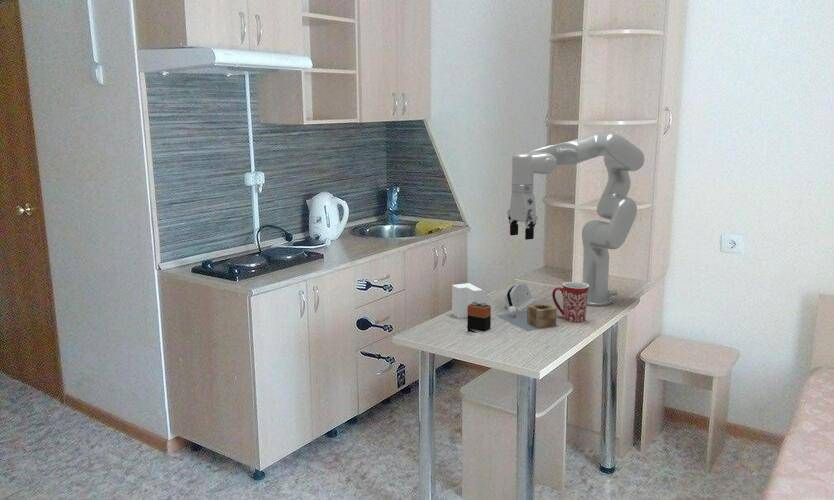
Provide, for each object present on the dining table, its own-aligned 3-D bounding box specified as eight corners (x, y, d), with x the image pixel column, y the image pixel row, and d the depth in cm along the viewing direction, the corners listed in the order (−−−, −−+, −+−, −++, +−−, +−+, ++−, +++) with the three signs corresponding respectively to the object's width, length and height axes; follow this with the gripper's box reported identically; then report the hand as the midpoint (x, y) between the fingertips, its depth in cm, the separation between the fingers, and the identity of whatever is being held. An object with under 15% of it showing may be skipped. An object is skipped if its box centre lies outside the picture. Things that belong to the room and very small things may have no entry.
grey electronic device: (521, 315, 244) (512, 288, 244) (509, 317, 247) (501, 291, 247) (537, 304, 259) (529, 279, 258) (525, 306, 261) (518, 282, 261)
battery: (484, 335, 223) (485, 305, 221) (466, 331, 226) (466, 302, 224) (491, 331, 226) (491, 302, 224) (473, 328, 230) (473, 299, 228)
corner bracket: (452, 317, 243) (452, 284, 240) (480, 313, 247) (480, 281, 244) (464, 325, 233) (464, 291, 231) (494, 321, 237) (494, 288, 235)
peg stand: (526, 314, 246) (526, 298, 244) (559, 329, 228) (560, 312, 227) (495, 318, 240) (495, 303, 239) (527, 334, 222) (527, 317, 221)
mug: (591, 321, 236) (592, 283, 234) (582, 327, 229) (584, 289, 226) (557, 315, 243) (558, 279, 241) (547, 322, 236) (548, 284, 233)
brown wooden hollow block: (544, 320, 234) (544, 303, 233) (556, 325, 228) (556, 308, 226) (526, 322, 231) (527, 305, 230) (538, 328, 225) (539, 311, 224)
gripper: (545, 190, 232) (544, 240, 235) (517, 186, 247) (517, 232, 250) (527, 192, 229) (526, 241, 232) (500, 187, 244) (499, 234, 247)
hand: (521, 237), depth 241 cm, fingers open, 9 cm apart
